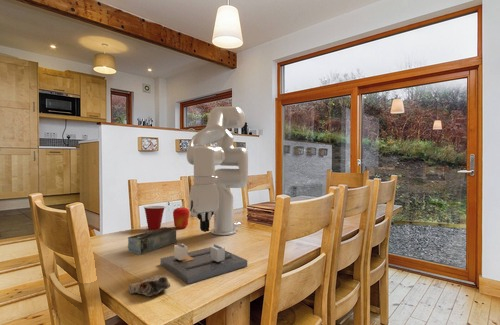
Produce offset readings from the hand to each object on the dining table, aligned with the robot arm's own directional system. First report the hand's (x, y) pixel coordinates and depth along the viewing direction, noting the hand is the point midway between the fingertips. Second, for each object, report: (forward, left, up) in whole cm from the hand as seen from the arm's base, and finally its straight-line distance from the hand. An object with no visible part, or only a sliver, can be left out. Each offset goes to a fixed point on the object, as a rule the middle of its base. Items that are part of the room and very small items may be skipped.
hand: (204, 230), depth 102 cm
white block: (+1, +10, -8) cm, 12 cm away
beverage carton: (+9, -25, -11) cm, 29 cm away
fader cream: (+10, +1, -8) cm, 12 cm away
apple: (-14, -48, -10) cm, 51 cm away
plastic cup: (-2, -54, -10) cm, 55 cm away
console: (+4, +6, -10) cm, 12 cm away
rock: (+25, +13, -11) cm, 30 cm away
